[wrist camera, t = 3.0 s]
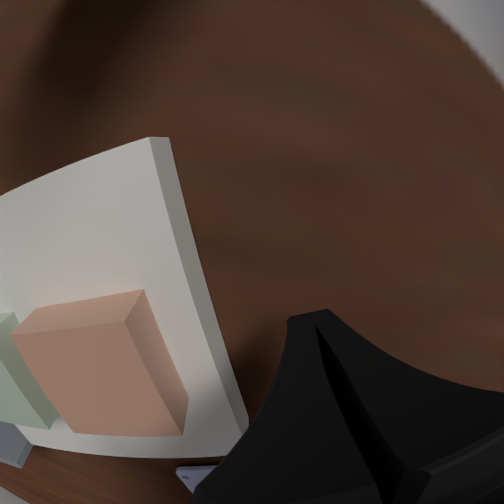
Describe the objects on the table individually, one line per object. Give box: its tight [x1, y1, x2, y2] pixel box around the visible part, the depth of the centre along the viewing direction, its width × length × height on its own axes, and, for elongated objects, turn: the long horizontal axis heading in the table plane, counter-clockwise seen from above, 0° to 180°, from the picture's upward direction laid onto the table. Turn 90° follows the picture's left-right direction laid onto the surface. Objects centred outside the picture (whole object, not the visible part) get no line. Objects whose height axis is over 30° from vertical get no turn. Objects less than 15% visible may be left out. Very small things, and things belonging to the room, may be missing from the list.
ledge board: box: [0, 137, 249, 458], centre depth 12 cm, size 14×14×2 cm
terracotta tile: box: [10, 289, 189, 436], centre depth 10 cm, size 5×5×2 cm
